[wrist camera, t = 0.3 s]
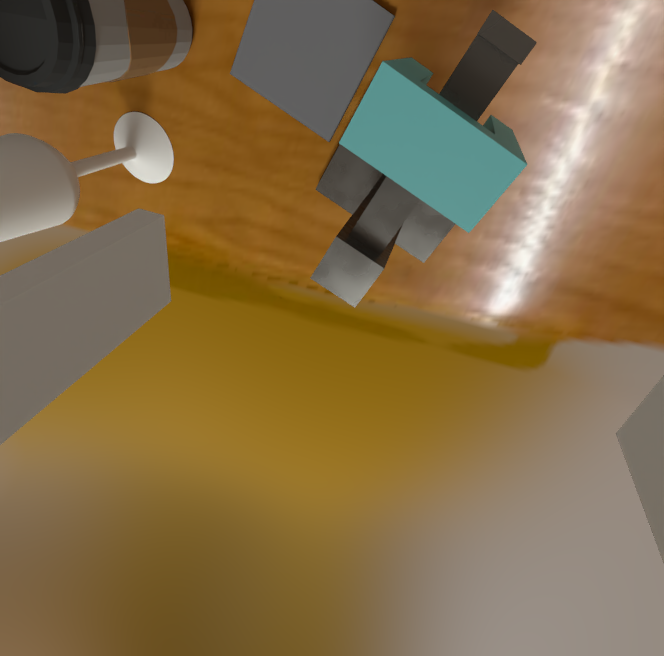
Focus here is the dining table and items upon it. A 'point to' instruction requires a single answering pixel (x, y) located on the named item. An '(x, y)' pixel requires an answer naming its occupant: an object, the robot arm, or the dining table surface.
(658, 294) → the dining table surface
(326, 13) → the mat
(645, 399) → the robot arm
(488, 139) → the u-shaped block
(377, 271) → the stand
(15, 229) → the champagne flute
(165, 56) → the coffee cup
